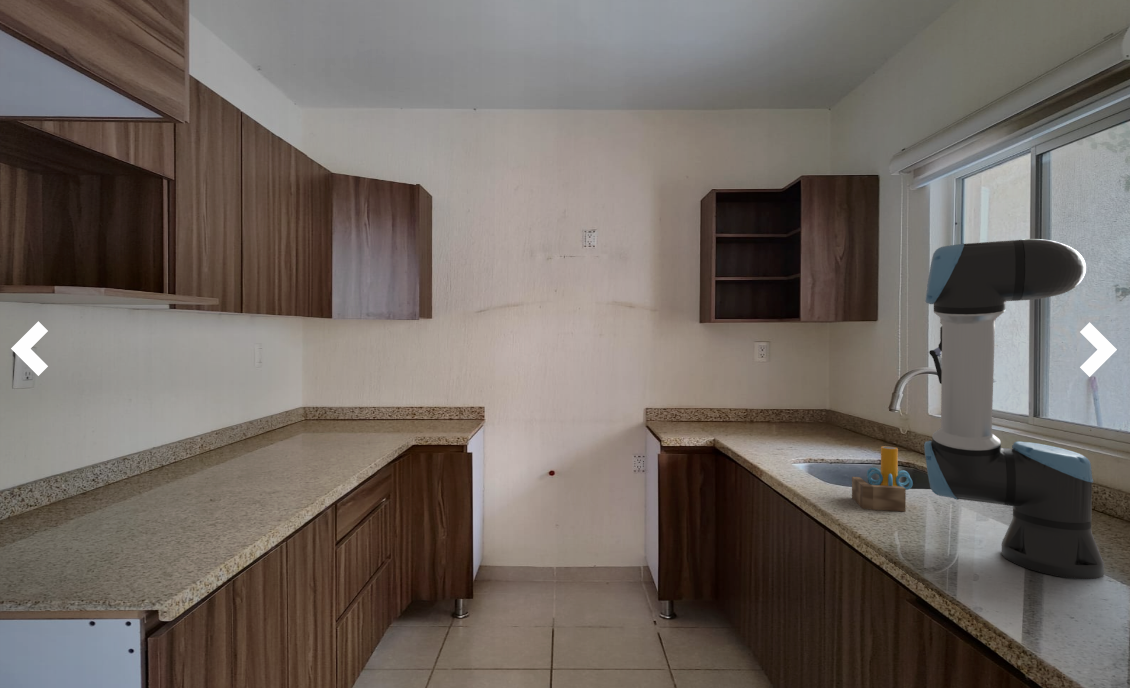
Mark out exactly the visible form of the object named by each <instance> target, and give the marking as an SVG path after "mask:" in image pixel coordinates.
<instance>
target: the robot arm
mask: <svg viewBox="0 0 1130 688" xmlns="http://www.w3.org/2000/svg"><path fill="white" fill-rule="evenodd" d="M1086 272H1087V265H1086V261H1085V259H1084V257H1083V256H1082V255H1081V253H1080V252H1079V251H1077V249H1075V248H1073V247H1071V246H1069V245H1067V244H1064V243H1061V242H1058V241H1054V240H1049V239H1042V238H1041V239H1040V238H1023V239H1015V240H1014V239H1013V240H1011V239H1010V240H998V241H984V242H972V243H965V242H964V243H963V242H962V243H959V244H952V245H945V246H944V245H943V246H940V247H938V248H937V249H935V251H934V252H933V254H932V258H931V262H930V268H929V273H928V279H927V285H926V286H927V288H926V292H925V293H926V294H925V304H929V305H933V313H934V314H935V315H937V317H938V318H940V321H939V322H940V325H941V327H939V329H940V330H939V331H940V332H939V337H940V338H939V339H940V342H939V344H938V347H936V348H934V349H932V350H929V352H928V353H929V355H930V356H931V357H932V359H933V363H934V367H935V370H936V374H937V378H938V382H939V384H941V385H940V386H941V394H940V397H941V398H940V401H941V402H940V404H941V405H940V428H939V429H937V430H935V431H934V432H933V433H932V434H931V435H932V436H931V439H932V440H926V441H925V442H924V444H923V445H924V446H923V447H924V448H923V449H924V456H925V465H926V471H927V476H928V483H929V487H930V490H931V492H933V494H934V495H936V496H939V497H945V498H950V499H954V500H956V501H959V500H962V501H970V502H978V503H987V504H994V505H1002V506H1009V507H1012V519H1011V521H1010V523H1009V525H1008V528H1007V530H1006V531H1005V532H1006V533H1005V534H1004V536H1003V538H1002V541H1001V555H1002V556H1003V558H1005V559H1006V560H1008V561H1009V562H1011V563H1013V564H1015V565H1018V566H1020V567H1023V568H1025V569H1028V570H1032V571H1034V572H1037V573H1042V574H1046V575H1051V576H1055V577H1060V578H1066V579H1067V578H1068V579H1075V580H1096V579H1100V578H1103V577H1104V576H1105V563H1104V560H1103V558H1102V554H1101V553H1100V550H1099V547H1098V544H1097V543H1096V542H1097V541H1096V540H1095V537H1094V535H1093V531H1092V513H1093V512H1092V505H1093V504H1092V501H1093V500H1092V499H1093V498H1092V495H1093V493H1092V492H1093V491H1092V490H1093V483H1094V479H1093V474H1092V473H1093V472H1092V471H1093V470H1092V464H1091V463H1092V462H1091V461H1090V459H1089V458H1088V457H1087V456H1085V455H1083V454H1082V453H1079V452H1075V451H1074V450H1073V451H1072V450H1068V449H1066V448H1062V447H1058V446H1053V445H1048V444H1044V443H1043V444H1041V443H1036V442H1029V441H1014V442H1013V443H1012V445H1011V448H1009V447H1007V448H1005V447H1002V446H1001V445H1002V442H1001V439H1000V438H999V437H998V436H996V435H995V434H994V433H993V432H992V429H993V427H992V426H993V402H994V400H993V399H994V398H993V397H994V370H995V368H994V367H995V341H996V340H995V338H996V335H995V334H996V319H997V318H998V317H1000V316H1001V315H1002V314H1004V313H1005V312H1006V309H1007V308H1006V305H1007V304H1006V303H1007V302H1019V301H1032V300H1041V299H1046V298H1051V297H1054V296H1055V297H1056V296H1058V295H1062V294H1065V293H1068V292H1070V291H1072V290H1074V289H1075V288H1076V287H1077V286H1078V285H1080V283H1081V282H1082V281H1083V280H1084V278H1085V275H1086Z"/></svg>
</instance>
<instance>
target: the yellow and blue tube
mask: <svg viewBox="0 0 1130 688" xmlns="http://www.w3.org/2000/svg"><path fill="white" fill-rule="evenodd" d="M898 455H899V449H898V447H894V446H889V445H887V446H886V445H885V446H884V445H883V446H882V445H881V446H880V469H879V468H877V467H870V468H868V469H867V471H866V476H867V483H868V484H870V485H884V486H902V487H904V488H905V489H906V491H907V490H910V489H911V488H912V487H913V485H914V484H913V480H912V478H911V476H910V473H909V472H908V471H906V470H903V469H902V470H899V466H898V465H899V461H898V460H899V456H898ZM873 475H878V479H873V478H872V476H873ZM901 478H906V479H905V481H903V482H900V479H901ZM906 485H907V486H906Z"/></svg>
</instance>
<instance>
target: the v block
mask: <svg viewBox="0 0 1130 688" xmlns="http://www.w3.org/2000/svg"><path fill="white" fill-rule="evenodd" d="M904 487H905V486H903V487H902V486H884V485H870V484H869V482H866V481H865V480H864V479H863V478H862V477H860V476H851V499H853V501H855V503H856V504H857V505H859V506H860V508H862V510H875V511H889V512H891V511H892V512H893V511H894V512H904V513H905V512H906V503H907V502H906V496H907V494H906V492H907V490H906V489H905V488H904Z"/></svg>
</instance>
